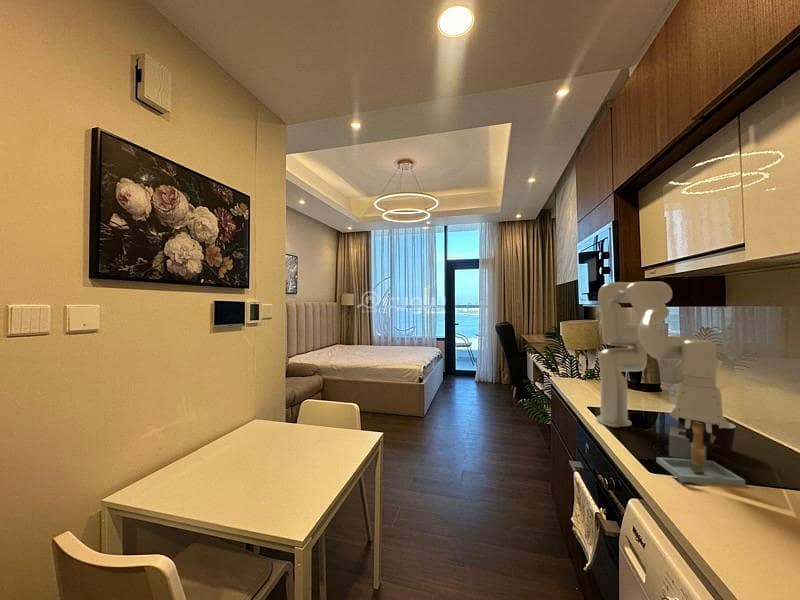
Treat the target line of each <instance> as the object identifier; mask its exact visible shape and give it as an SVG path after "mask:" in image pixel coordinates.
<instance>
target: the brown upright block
mask: <svg viewBox="0 0 800 600" xmlns="http://www.w3.org/2000/svg"><path fill="white" fill-rule="evenodd" d="M690 425H691V429H692V442H691V470H692V471H694V472H697V473H705V445H704V432H705V425H704V424H702V423H699V422H697V421H696V422H692V421H691V422H690Z"/></svg>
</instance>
